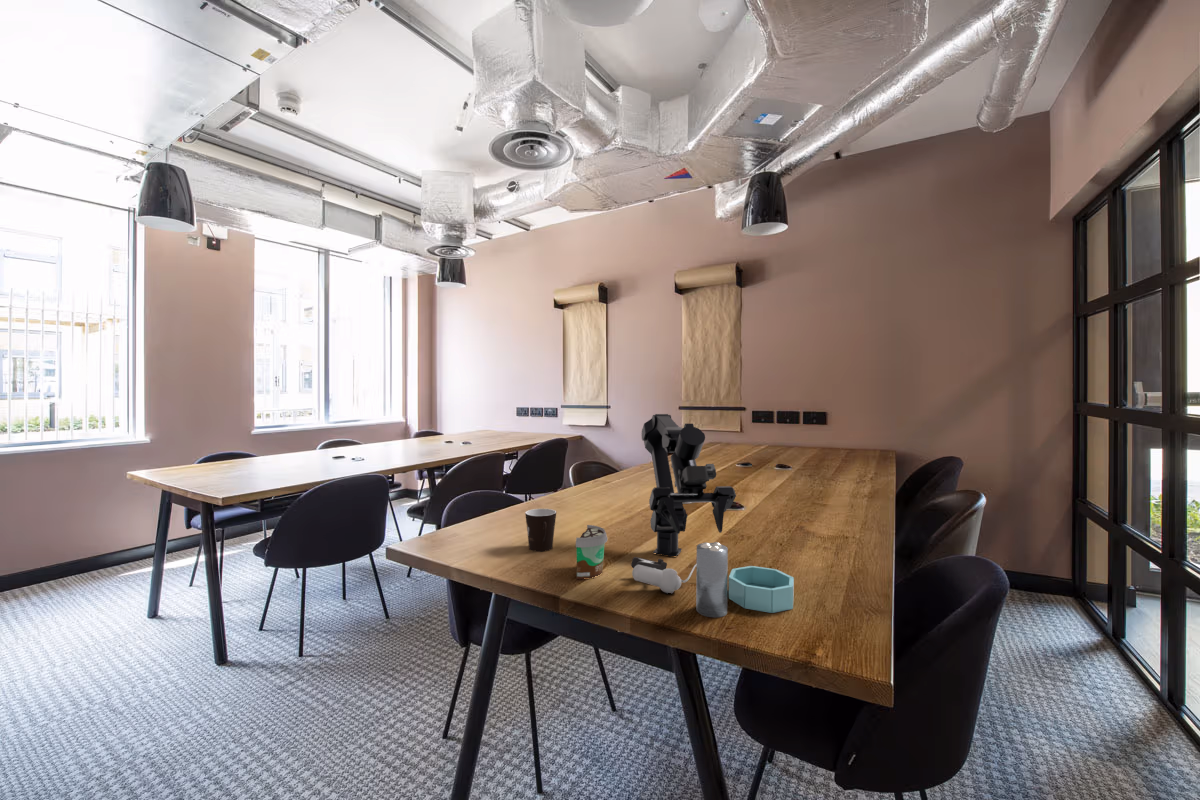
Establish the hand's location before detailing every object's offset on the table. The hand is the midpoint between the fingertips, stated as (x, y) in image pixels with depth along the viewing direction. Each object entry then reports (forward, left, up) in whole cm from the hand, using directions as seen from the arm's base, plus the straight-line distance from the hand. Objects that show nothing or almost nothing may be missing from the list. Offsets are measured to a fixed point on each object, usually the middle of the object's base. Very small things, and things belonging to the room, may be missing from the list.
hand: (699, 532), depth 104 cm
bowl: (-4, +12, -13) cm, 19 cm away
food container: (-3, -26, -14) cm, 29 cm away
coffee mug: (-13, -47, -14) cm, 50 cm away
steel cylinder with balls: (+6, +4, -13) cm, 15 cm away
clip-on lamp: (-3, -7, -14) cm, 16 cm away
